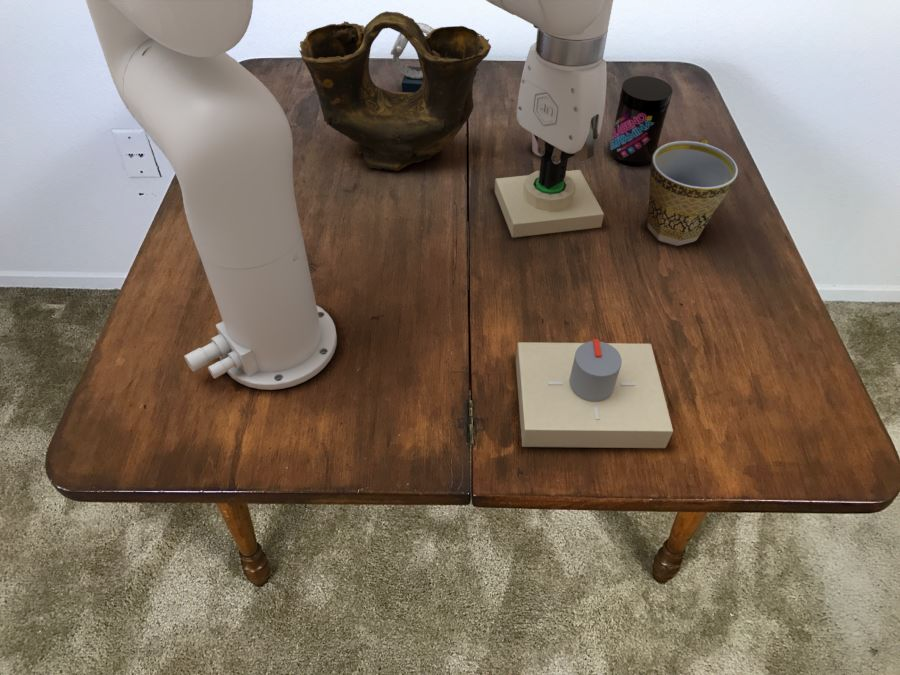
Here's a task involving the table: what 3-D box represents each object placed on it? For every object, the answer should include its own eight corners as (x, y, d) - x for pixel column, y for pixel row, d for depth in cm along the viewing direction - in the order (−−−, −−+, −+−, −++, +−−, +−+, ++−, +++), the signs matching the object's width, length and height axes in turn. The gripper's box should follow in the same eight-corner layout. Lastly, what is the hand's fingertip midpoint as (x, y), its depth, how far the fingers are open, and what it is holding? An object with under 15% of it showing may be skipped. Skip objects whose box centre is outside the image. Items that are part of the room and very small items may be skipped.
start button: (539, 203, 88) (540, 192, 86) (531, 187, 90) (533, 176, 89) (565, 200, 88) (567, 189, 87) (557, 184, 90) (559, 173, 89)
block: (512, 238, 87) (514, 212, 84) (494, 191, 93) (496, 166, 90) (601, 227, 88) (606, 202, 85) (577, 182, 95) (582, 158, 92)
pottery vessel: (486, 137, 102) (493, 1, 88) (483, 179, 95) (491, 39, 80) (322, 129, 103) (302, -6, 89) (307, 171, 96) (283, 30, 81)
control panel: (522, 447, 66) (524, 428, 63) (515, 360, 73) (517, 340, 71) (665, 448, 66) (674, 430, 64) (644, 361, 73) (651, 342, 71)
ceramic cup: (704, 263, 84) (730, 197, 76) (625, 241, 87) (643, 174, 79) (723, 205, 92) (747, 140, 84) (650, 186, 94) (668, 121, 87)
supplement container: (601, 144, 101) (614, 78, 94) (643, 139, 102) (660, 73, 95) (618, 170, 97) (633, 103, 89) (662, 164, 98) (681, 97, 90)
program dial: (616, 402, 66) (625, 374, 63) (571, 401, 66) (578, 373, 63) (610, 367, 69) (618, 338, 65) (567, 366, 69) (573, 338, 66)
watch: (396, 83, 113) (392, 16, 105) (444, 86, 113) (444, 19, 104) (390, 100, 109) (386, 32, 101) (439, 103, 109) (439, 35, 101)
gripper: (498, 28, 76) (490, 167, 90) (600, 78, 69) (574, 222, 82) (545, 10, 79) (530, 147, 93) (646, 56, 72) (614, 197, 86)
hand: (551, 181), depth 88 cm, fingers closed
